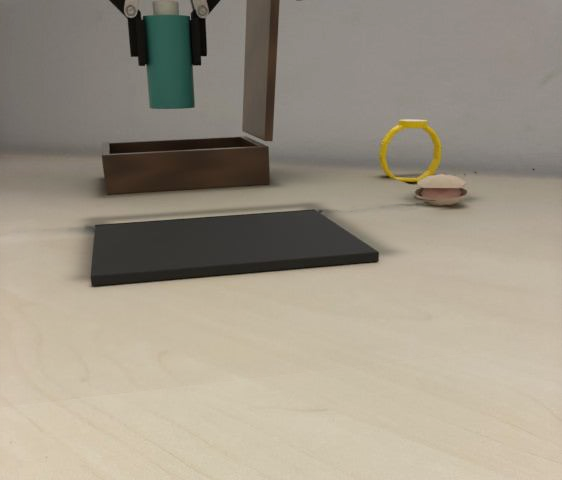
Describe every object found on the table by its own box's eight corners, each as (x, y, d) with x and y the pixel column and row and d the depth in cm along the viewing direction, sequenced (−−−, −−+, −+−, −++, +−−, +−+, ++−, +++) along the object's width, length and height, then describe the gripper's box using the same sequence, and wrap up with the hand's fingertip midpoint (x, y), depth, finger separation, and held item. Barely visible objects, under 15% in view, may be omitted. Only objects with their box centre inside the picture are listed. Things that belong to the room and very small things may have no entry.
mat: (91, 286, 39) (90, 276, 39) (96, 226, 55) (95, 219, 54) (379, 261, 43) (379, 251, 42) (308, 211, 58) (307, 204, 58)
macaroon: (412, 208, 58) (414, 177, 57) (416, 198, 62) (417, 169, 61) (466, 209, 57) (468, 177, 56) (466, 198, 61) (468, 169, 60)
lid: (273, -59, 60) (336, -52, 61) (247, -39, 71) (301, -33, 72) (264, 141, 66) (321, 143, 67) (242, 131, 77) (291, 133, 78)
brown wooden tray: (107, 202, 65) (101, 155, 63) (107, 183, 76) (102, 142, 74) (270, 191, 68) (268, 146, 66) (247, 175, 79) (245, 135, 77)
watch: (383, 185, 69) (384, 121, 67) (376, 181, 72) (377, 120, 69) (442, 183, 70) (445, 119, 67) (433, 179, 72) (436, 117, 70)
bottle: (150, 109, 67) (142, -1, 63) (148, 106, 70) (140, 3, 67) (197, 108, 67) (191, 0, 64) (192, 106, 71) (186, 3, 68)
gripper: (243, -151, 65) (249, 65, 72) (54, -161, 62) (80, 66, 69) (259, -176, 58) (263, 64, 66) (48, -188, 55) (77, 66, 62)
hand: (169, 63), depth 67 cm, fingers closed on bottle, 4 cm apart
